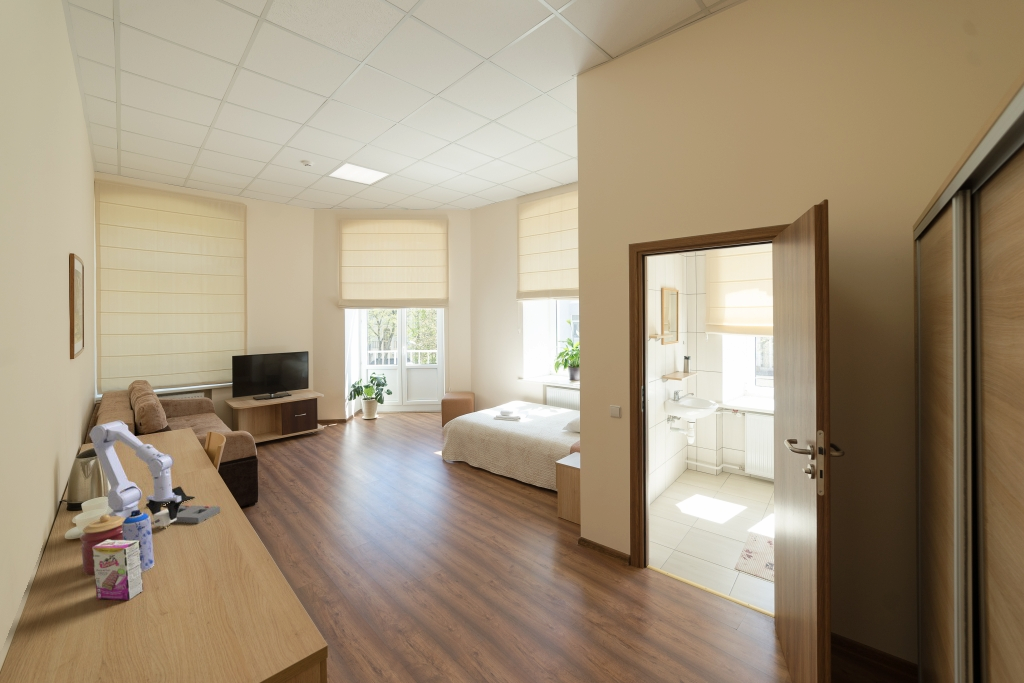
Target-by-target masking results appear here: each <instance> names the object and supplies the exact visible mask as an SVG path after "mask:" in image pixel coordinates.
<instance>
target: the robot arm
mask: <svg viewBox="0 0 1024 683" xmlns="http://www.w3.org/2000/svg"><path fill="white" fill-rule="evenodd" d="M88 435H89V438H90V439H91V442H92V446H93V449H94V452H95V454H96V457H97V459H98V461H99V463H100V465H101V468H102V470H103V472H104V474H105V476H106V479H107V481H108V482H109V485H110V490H108V492H107V494H106V496H107V503H108V506H109V508H110V509H111V510H112V512H110V513H108V515H109V516H110V517H111V516H120V517H124V518H127V517H129V516H130V515H131V511H134V510H139V505H138V504H139V503H140V501H141V499H142V497H143V492H142V490H141V489H140V487H138V485H137V484H136V482H133V481H130V480H128V477H127V474H126V473H125V471H124V468H123V466H122V463H121V461H120V459H119V456H118V454H117V452H116V449H115V447H114V445H115V444H116V442H117V441H120V442H121V443H122V444H124V445H126V446H127V447H129V448H130V449H132V450H133V451H135V456H136V457H138V459H140V460H141V461H143V463H145V464H146V465H147V468H148V471H149V472H150V473H151V474H150V475H151V477H152V480H153V481H152V482H153V494H150V495H148V496H146V497H145V499H146V502H147V503H146V504H145V507H146V508H147V509H149V510H150V513H151V515H152V516H153V515H154V514H156V513H158V512H160V511H162V501H168V502H170V503H168V504H166V509H168V511H169V517H170V520H173V519H175V518H176V517H177V512H178V509H179V506H180V505H182V504H183V503H182V500H181V496H177V495H174V493H172V489H173V487H172V486H173V485H172V483H173V482H172V474H171V472H172V471H171V470H172V469H171V468H172V467H173V466H174V458H173V457H172V455H170V454H168V453H166V454H165V453H163V452H160V451H159V450H157V448H155V447H154V445H153V444H149V443H145V444H144V443H143V442H142V440H140V439H139V438H138V437H137V436H135V435H134V433H133V432H131V431H130V430H129V426H128V424H126V423H125V422H124V421H123V420H114V421H111V422H106V423H103V424H98V425H95V426H93V427H92V428H91V430H90V432H89V434H88ZM181 503H182V504H181Z"/></svg>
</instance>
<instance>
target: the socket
mask: <svg viewBox="0 0 1024 683" xmlns="http://www.w3.org/2000/svg"><path fill="white" fill-rule="evenodd" d="M220 507H221V506H213V505H209V504H207V505H191V504H184V505H183V504H180V506H179V509H178V512H177V520H176V521H174V522H184V523H183V524H195V523H199V524H201V523H202V521H203V522H205V521H206V520H205V519H207V518H208V519H210V518H212V517H214V516H216V515H217V514H216V513H218V512H220V513H221V508H220ZM215 514H216V515H215ZM218 514H219V513H218ZM213 515H214V516H213ZM211 516H212V517H211ZM209 517H210V518H209ZM208 519H207V520H208ZM204 520H205V521H204ZM174 522H173V523H174ZM185 522H186V523H185ZM200 522H201V523H200Z"/></svg>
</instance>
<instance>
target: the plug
mask: <svg viewBox="0 0 1024 683" xmlns="http://www.w3.org/2000/svg"><path fill="white" fill-rule="evenodd" d="M152 517H153V526H154V527H160V528H163V529H165V528H167V529H168V527H167V526H169V525H170V526H171V523H174V521H176V520H177V517H176V518H175V519H173V520H170V517H169V511H168V509H167V508H164V509H162V510H161V511H160V512H158V513H156V514H154V515H152ZM170 526H169V527H170Z"/></svg>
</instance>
